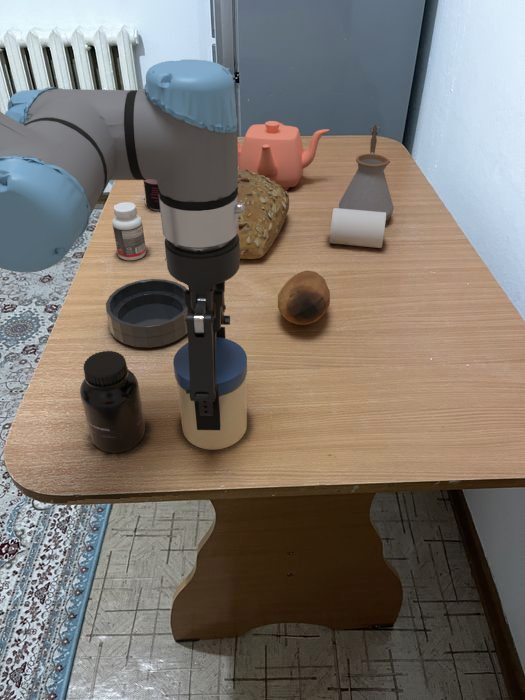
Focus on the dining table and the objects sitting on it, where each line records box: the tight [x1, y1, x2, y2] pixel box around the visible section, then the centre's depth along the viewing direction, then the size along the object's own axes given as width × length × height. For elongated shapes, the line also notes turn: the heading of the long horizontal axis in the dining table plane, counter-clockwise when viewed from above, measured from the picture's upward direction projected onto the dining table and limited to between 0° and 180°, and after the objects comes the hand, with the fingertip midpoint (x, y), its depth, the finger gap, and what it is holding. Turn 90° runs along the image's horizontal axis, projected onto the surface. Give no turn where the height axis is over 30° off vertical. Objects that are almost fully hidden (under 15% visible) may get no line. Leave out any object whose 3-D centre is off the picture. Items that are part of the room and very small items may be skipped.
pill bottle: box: [111, 201, 147, 261], centre depth 105 cm, size 5×5×10 cm
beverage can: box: [142, 179, 160, 212], centre depth 120 cm, size 7×7×15 cm
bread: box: [237, 169, 290, 260], centre depth 111 cm, size 24×21×12 cm
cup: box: [329, 207, 387, 249], centre depth 110 cm, size 7×7×10 cm
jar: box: [176, 377, 248, 450], centre depth 70 cm, size 8×8×10 cm
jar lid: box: [172, 337, 248, 395], centre depth 67 cm, size 9×9×2 cm
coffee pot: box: [338, 124, 395, 221], centre depth 120 cm, size 21×12×15 cm, turn 169°
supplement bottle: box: [79, 350, 146, 453], centre depth 69 cm, size 7×7×12 cm
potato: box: [277, 270, 331, 326], centre depth 90 cm, size 8×13×8 cm
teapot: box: [238, 120, 330, 191], centre depth 131 cm, size 18×18×14 cm
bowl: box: [105, 278, 189, 349], centre depth 89 cm, size 13×13×4 cm
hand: (212, 396), depth 70 cm, fingers open, 10 cm apart
